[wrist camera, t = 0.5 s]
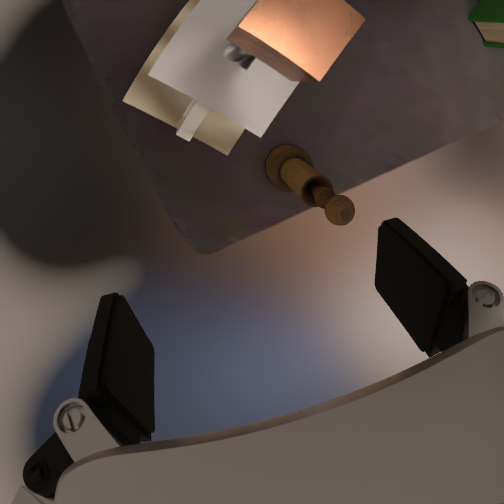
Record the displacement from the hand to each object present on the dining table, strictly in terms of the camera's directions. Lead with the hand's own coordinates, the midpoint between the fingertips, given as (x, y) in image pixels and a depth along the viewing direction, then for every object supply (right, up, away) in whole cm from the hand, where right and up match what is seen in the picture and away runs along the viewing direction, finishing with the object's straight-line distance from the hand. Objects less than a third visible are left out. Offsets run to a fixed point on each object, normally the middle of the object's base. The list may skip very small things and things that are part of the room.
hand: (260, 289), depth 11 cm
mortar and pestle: (+5, +14, +33) cm, 36 cm away
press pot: (-5, +23, +23) cm, 33 cm away
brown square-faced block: (-2, +20, +15) cm, 25 cm away
